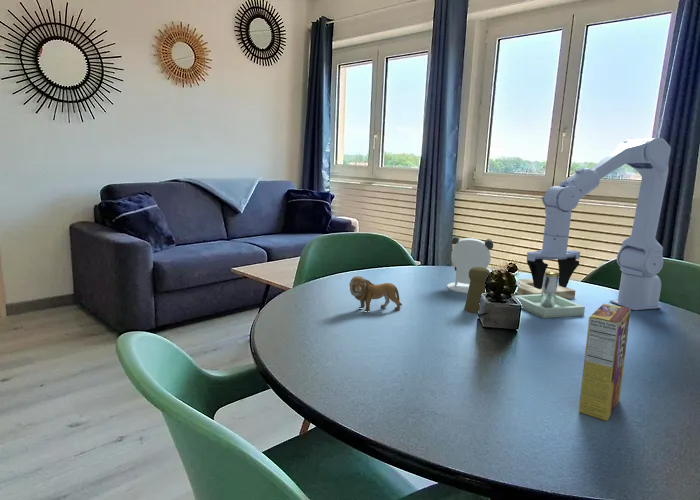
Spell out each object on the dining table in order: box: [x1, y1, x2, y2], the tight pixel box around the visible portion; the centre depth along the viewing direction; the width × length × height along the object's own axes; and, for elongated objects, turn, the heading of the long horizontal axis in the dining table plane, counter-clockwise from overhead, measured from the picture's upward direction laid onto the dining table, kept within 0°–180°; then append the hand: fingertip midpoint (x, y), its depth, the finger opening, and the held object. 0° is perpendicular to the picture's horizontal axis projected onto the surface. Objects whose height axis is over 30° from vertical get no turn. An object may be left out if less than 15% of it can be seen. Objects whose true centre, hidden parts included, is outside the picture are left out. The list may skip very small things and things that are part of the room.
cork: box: [463, 267, 491, 315], centre depth 117 cm, size 6×6×11 cm
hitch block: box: [516, 278, 576, 300], centre depth 136 cm, size 14×14×2 cm
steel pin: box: [540, 270, 559, 308], centre depth 119 cm, size 4×4×9 cm
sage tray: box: [515, 294, 586, 319], centre depth 120 cm, size 12×12×2 cm
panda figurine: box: [446, 235, 494, 294], centre depth 137 cm, size 12×11×15 cm
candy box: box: [578, 303, 632, 422], centre depth 71 cm, size 9×4×15 cm, turn 140°
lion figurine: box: [349, 275, 403, 313], centre depth 115 cm, size 15×5×9 cm, turn 115°
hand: (550, 287), depth 119 cm, fingers open, 7 cm apart
